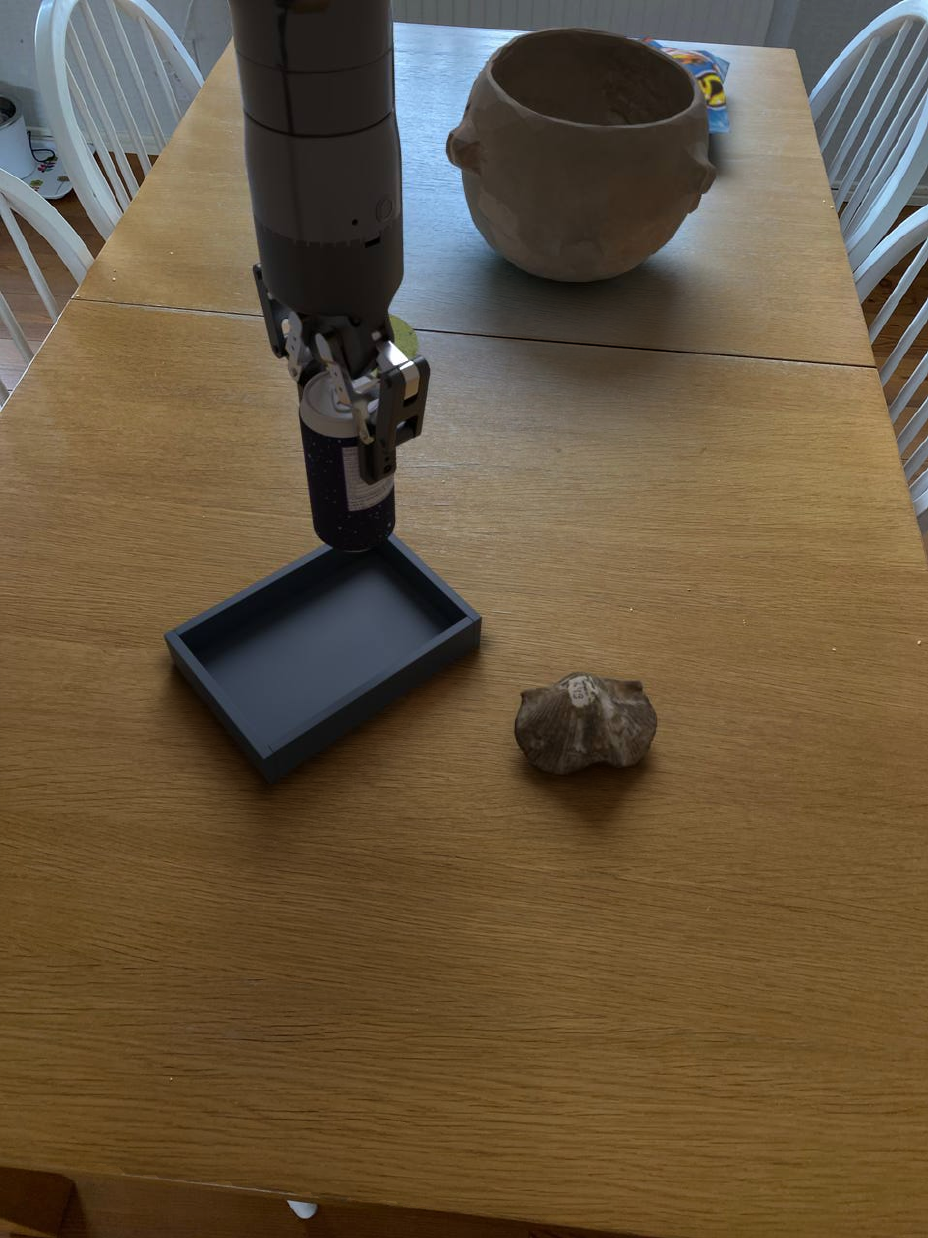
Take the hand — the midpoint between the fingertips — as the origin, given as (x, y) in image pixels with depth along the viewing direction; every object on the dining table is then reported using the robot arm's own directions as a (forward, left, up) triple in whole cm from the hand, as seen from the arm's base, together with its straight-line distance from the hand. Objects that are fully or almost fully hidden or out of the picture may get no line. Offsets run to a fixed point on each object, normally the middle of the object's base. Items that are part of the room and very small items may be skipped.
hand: (348, 449), depth 61 cm
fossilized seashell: (+7, -18, -20) cm, 27 cm away
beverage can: (0, 0, -8) cm, 8 cm away
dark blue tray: (-3, 0, -19) cm, 20 cm away
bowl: (+51, +29, -20) cm, 62 cm away
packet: (+84, +45, -20) cm, 97 cm away
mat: (+21, +28, -20) cm, 40 cm away
